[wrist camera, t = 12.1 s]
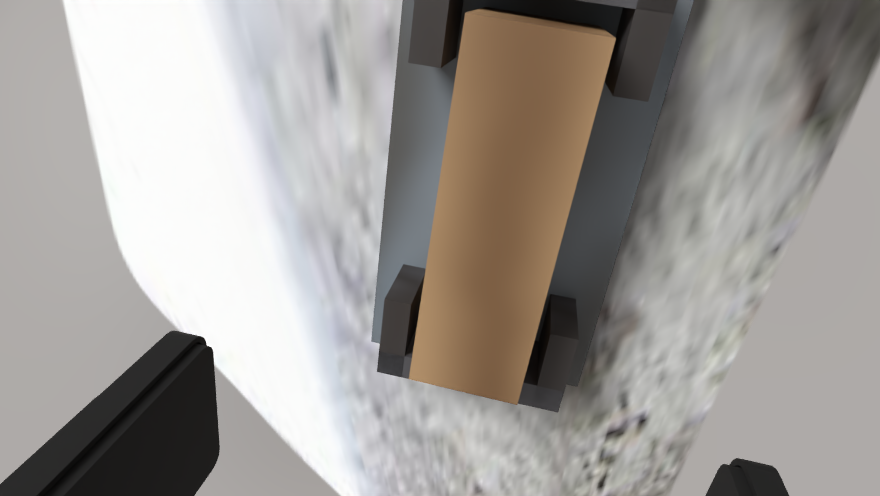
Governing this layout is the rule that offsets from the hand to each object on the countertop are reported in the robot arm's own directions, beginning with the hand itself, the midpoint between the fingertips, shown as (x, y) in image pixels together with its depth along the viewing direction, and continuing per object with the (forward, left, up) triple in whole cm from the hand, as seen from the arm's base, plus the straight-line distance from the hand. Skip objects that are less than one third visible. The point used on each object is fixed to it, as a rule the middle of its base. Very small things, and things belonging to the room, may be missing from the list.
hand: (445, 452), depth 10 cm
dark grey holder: (0, 0, -18) cm, 18 cm away
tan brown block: (0, 0, -16) cm, 16 cm away
